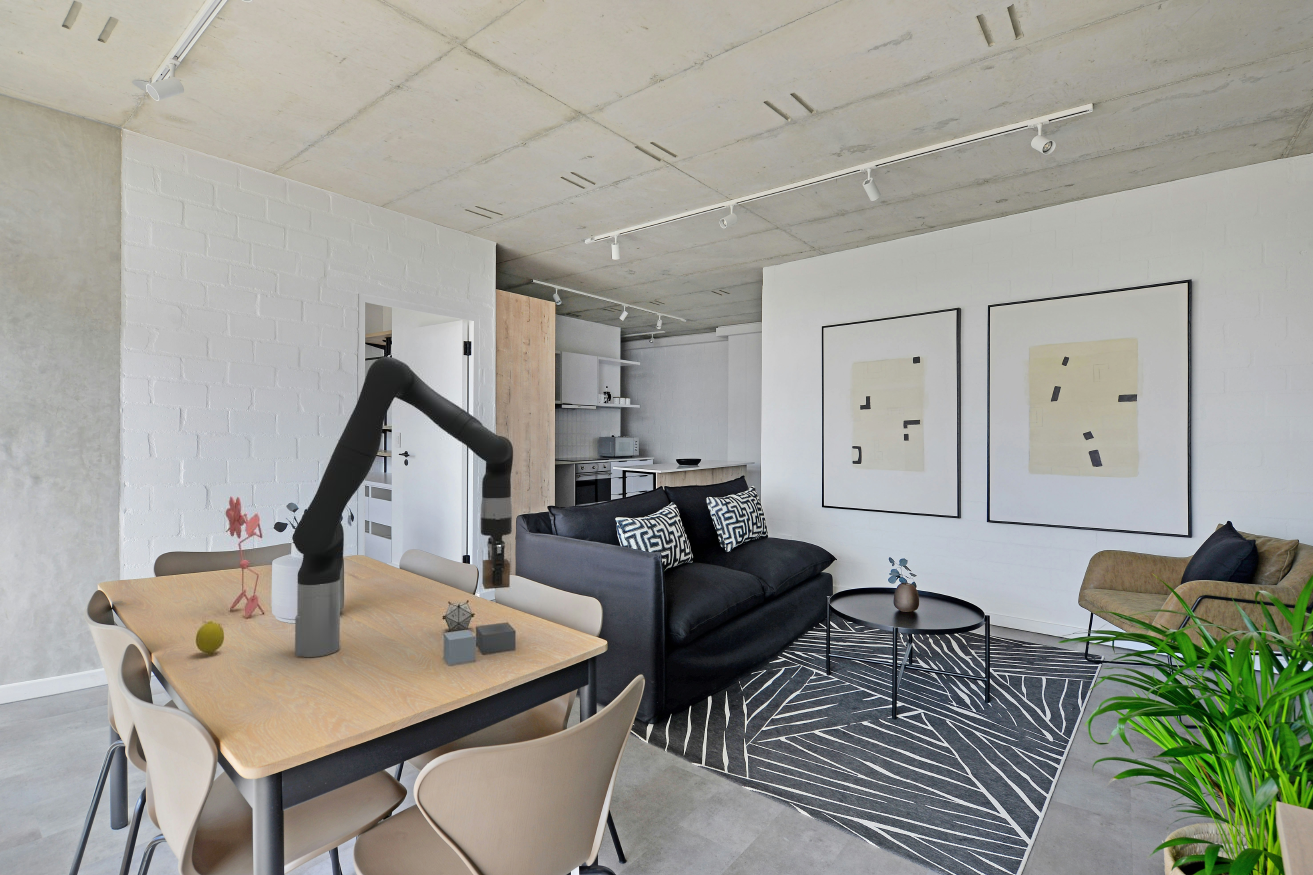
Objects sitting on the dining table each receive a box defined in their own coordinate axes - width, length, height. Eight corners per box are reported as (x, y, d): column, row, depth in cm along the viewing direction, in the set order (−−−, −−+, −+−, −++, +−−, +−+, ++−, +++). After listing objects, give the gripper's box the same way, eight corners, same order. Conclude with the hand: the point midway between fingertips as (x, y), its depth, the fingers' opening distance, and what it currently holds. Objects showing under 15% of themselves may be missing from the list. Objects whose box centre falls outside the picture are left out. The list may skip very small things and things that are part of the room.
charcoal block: (482, 655, 153) (482, 634, 153) (475, 645, 160) (476, 626, 160) (515, 650, 156) (515, 630, 156) (507, 641, 163) (507, 622, 163)
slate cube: (448, 666, 145) (449, 640, 145) (443, 658, 150) (443, 632, 150) (475, 661, 148) (475, 636, 148) (468, 653, 153) (469, 629, 153)
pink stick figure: (247, 602, 198) (245, 491, 197) (278, 618, 181) (276, 497, 180) (188, 613, 186) (186, 495, 186) (214, 632, 169) (212, 502, 169)
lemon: (193, 659, 147) (194, 625, 148) (198, 652, 152) (198, 619, 152) (222, 656, 150) (222, 622, 150) (225, 649, 155) (225, 616, 155)
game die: (461, 646, 170) (462, 623, 164) (434, 633, 171) (434, 609, 165) (480, 622, 177) (482, 599, 171) (455, 609, 178) (455, 586, 173)
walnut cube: (484, 589, 154) (484, 564, 154) (482, 583, 160) (482, 560, 160) (509, 587, 156) (509, 563, 156) (506, 581, 162) (506, 558, 162)
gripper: (478, 512, 163) (477, 577, 163) (483, 519, 150) (483, 589, 150) (507, 511, 166) (507, 575, 166) (515, 518, 153) (515, 587, 153)
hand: (495, 581), depth 158 cm, fingers closed on walnut cube, 6 cm apart
